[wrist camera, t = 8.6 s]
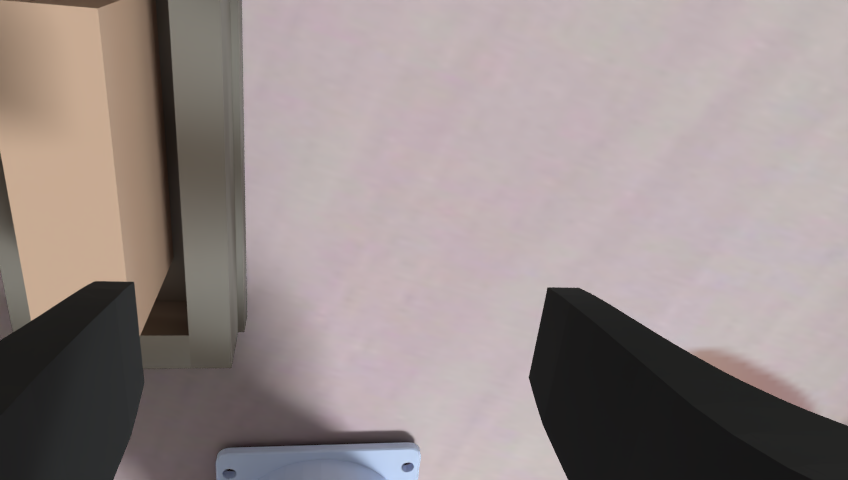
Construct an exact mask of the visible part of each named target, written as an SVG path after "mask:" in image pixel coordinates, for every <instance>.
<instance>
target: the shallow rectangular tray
mask: <svg viewBox="0 0 848 480" xmlns="http://www.w3.org/2000/svg"><path fill="white" fill-rule="evenodd" d="M156 14H157V28H158V42H159V57H160V71H161V85H162V100H163V114H164V128H165V143H166V157H167V171H168V186H169V200H170V214H171V228H172V243H173V257H174V258H173V260H172V263H171V265H170V267H169V270H168V272H167V274H166V277H165V279H164V281H163V284H162V286H161V288H160V291H159V293H158V295H157V298H156V300H155V302H154V305H153V307H152V309H151V312H150V314H149V316H148V319H147V321H146V323H145V326H144V328H143V330H142V332H141V335H140V345H141V355H142V365H143V369H165V368H231V367H232V362H233V356H234V351H235V346H236V340H237V335H238V332H244V330H245V325H246V319H247V290H246V230H245V171H244V111H243V51H242V0H156ZM0 270H1V275H2V280H3V285H4V291H5V296H6V301H7V306H8V311H9V316H10V321H11V326H12V331H13V332H15V331H16V330H18V329H19V328H21V327H23V326H24V325H26V324H27V323H29V322H30V321H31V317H30V312H29V306H28V301H27V295H26V290H25V285H24V279H23V274H22V268H21V263H20V257H19V252H18V246H17V241H16V235H15V230H14V224H13V219H12V213H11V208H10V202H9V197H8V191H7V186H6V180H5V175H4V169H3V164H2V159H1V153H0Z"/></svg>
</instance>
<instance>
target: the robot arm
mask: <svg viewBox="0 0 848 480" xmlns="http://www.w3.org/2000/svg"><path fill="white" fill-rule="evenodd" d="M529 380H530V383H531V387H532V391H533V394H534V398H535V401H536V405H537V408H538V411H539V414H540V417H541V420H542V423H543V426H544V428H545V430H546V433H547V435H548V437H549V439H550V442H551V444H552V446H553V448H554V450H555V453H556V455H557V457H558V459H559V461H560V463H561V465H562V468H563V470H564V472H565V474H566V476H567V478H568V480H848V426H846V425H844V424H841V423H839V422H836V421H833V420H831V419H828V418H826V417H823V416H820V415H818V414H815V413H813V412H810V411H807V410H805V409H803V408H800V407H798V406H796V405H793V404H791V403H788V402H786V401H784V400H782V399H779V398H777V397H775V396H773V395H771V394H769V393H766V392H764V391H762V390H760V389H758V388H756V387H753V386H751V385H749V384H747V383H745V382H743V381H741V380H739V379H737V378H735V377H733V376H731V375H729V374H727V373H725V372H723V371H721V370H719V369H718V368H716V367H714V366H712V365H710V364H709V363H707V362H705V361H703V360H701V359H699V358H698V357H696V356H694V355H692V354H690V353H689V352H687V351H685V350H683V349H682V348H680V347H678V346H677V345H675V344H673V343H672V342H670V341H668V340H667V339H665V338H663V337H662V336H660V335H658V334H657V333H655V332H653V331H652V330H650V329H648V328H647V327H645V326H644V325H642V324H640V323H639V322H637V321H636V320H634V319H632V318H631V317H629V316H627V315H626V314H624V313H623V312H621V311H619V310H618V309H616V308H615V307H613V306H611V305H610V304H608V303H606V302H605V301H603V300H601V299H599V298H598V297H596V296H594V295H592V294H590V293H588V292H586V291H584V290H582V289H580V288H547V293H546V298H545V303H544V308H543V312H542V317H541V322H540V327H539V332H538V336H537V341H536V346H535V351H534V356H533V360H532V365H531V370H530V375H529ZM143 386H144V375H143V365H142V355H141V345H140V335H139V325H138V315H137V305H136V295H135V285H134V282H121V281H94V282H92V283H90V284H88V285H87V286H85V287H83V288H82V289H80V290H78V291H77V292H75V293H73V294H72V295H70V296H69V297H67V298H66V299H64V300H63V301H61V302H60V303H58V304H57V305H55V306H53V307H52V308H50V309H49V310H47V311H46V312H44V313H43V314H41V315H40V316H38V317H37V318H35V319H33V320H32V321H30V322H29V323H27V324H26V325H24V326H23V327H21V328H19V329H18V330H16V331H15V332H13V333H12V334H10V335H8V336H7V337H5V338H4V339H2V340H0V480H113V479H114V476H115V474H116V471H117V469H118V466H119V464H120V462H121V459H122V457H123V454H124V452H125V449H126V447H127V444H128V441H129V439H130V436H131V433H132V429H133V426H134V422H135V418H136V414H137V411H138V407H139V402H140V398H141V394H142V390H143ZM420 459H421V455H420V449H419V447H418V445H416V444H414V443H410V442H402V443H369V444H337V445H304V446H271V447H238V448H226V449H223V450H221V451H220V452H219V453H218V455H217V459H216V480H418V474H419V466H420ZM407 462H409V463H410V464H408V465H403V464H404V463H407ZM226 469H233V470H234V471H226Z"/></svg>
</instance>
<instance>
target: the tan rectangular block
mask: <svg viewBox="0 0 848 480" xmlns="http://www.w3.org/2000/svg"><path fill="white" fill-rule="evenodd" d="M0 153H1V159H2V164H3V169H4V175H5V180H6V186H7V191H8V197H9V202H10V208H11V213H12V219H13V224H14V230H15V235H16V241H17V246H18V252H19V257H20V263H21V268H22V274H23V279H24V285H25V290H26V295H27V301H28V306H29V312H30V317H31V321H32V320H33V319H35V318H37V317H38V316H40V315H41V314H43V313H44V312H46V311H47V310H49V309H50V308H52V307H53V306H55V305H57V304H58V303H60V302H61V301H63V300H64V299H66V298H67V297H69V296H70V295H72V294H73V293H75V292H77V291H78V290H80V289H82V288H83V287H85V286H87V285H88V284H90V283H92V282H94V281H121V282H134V285H135V295H136V305H137V315H138V325H139V335H141V332H142V330H143V328H144V326H145V323H146V321H147V319H148V316H149V314H150V312H151V309H152V307H153V305H154V302H155V300H156V298H157V295H158V293H159V291H160V288H161V286H162V284H163V281H164V279H165V277H166V274H167V272H168V270H169V267H170V265H171V263H172V260H173V258H174V257H173V243H172V228H171V214H170V200H169V186H168V171H167V157H166V143H165V128H164V114H163V100H162V85H161V71H160V57H159V42H158V28H157V14H156V0H0Z"/></svg>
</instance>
